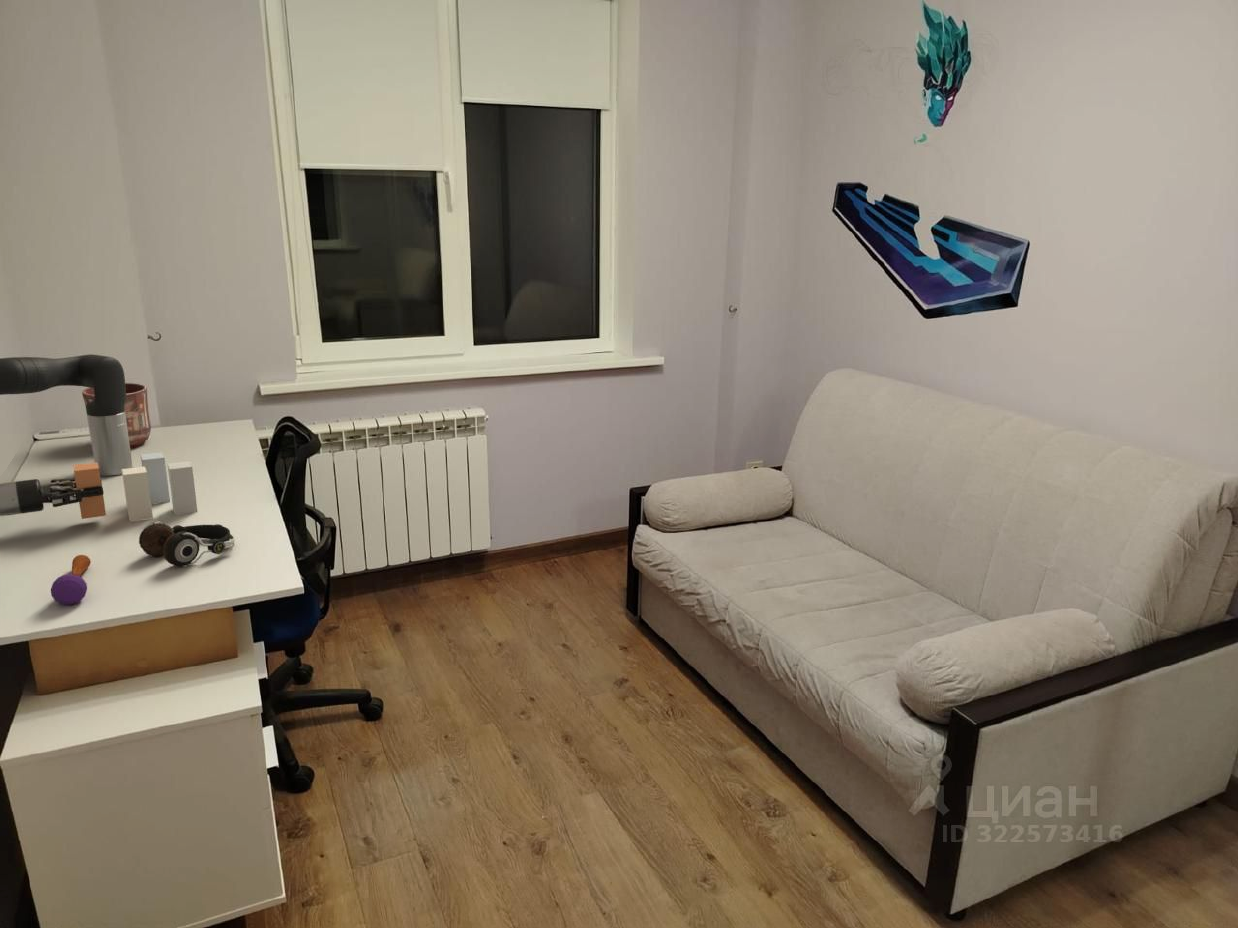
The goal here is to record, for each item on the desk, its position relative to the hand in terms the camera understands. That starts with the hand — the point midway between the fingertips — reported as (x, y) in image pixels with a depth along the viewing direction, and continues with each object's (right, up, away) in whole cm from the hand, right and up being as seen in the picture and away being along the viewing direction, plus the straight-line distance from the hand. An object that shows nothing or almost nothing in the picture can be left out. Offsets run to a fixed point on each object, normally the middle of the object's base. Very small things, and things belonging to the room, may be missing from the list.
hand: (101, 486), depth 205 cm
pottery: (-31, +11, +63) cm, 71 cm away
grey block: (+14, -6, +12) cm, 19 cm away
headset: (+28, -15, -12) cm, 34 cm away
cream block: (+6, -8, +6) cm, 11 cm away
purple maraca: (+14, -20, -31) cm, 40 cm away
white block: (+4, -4, +18) cm, 19 cm away
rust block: (-2, -7, +1) cm, 7 cm away
